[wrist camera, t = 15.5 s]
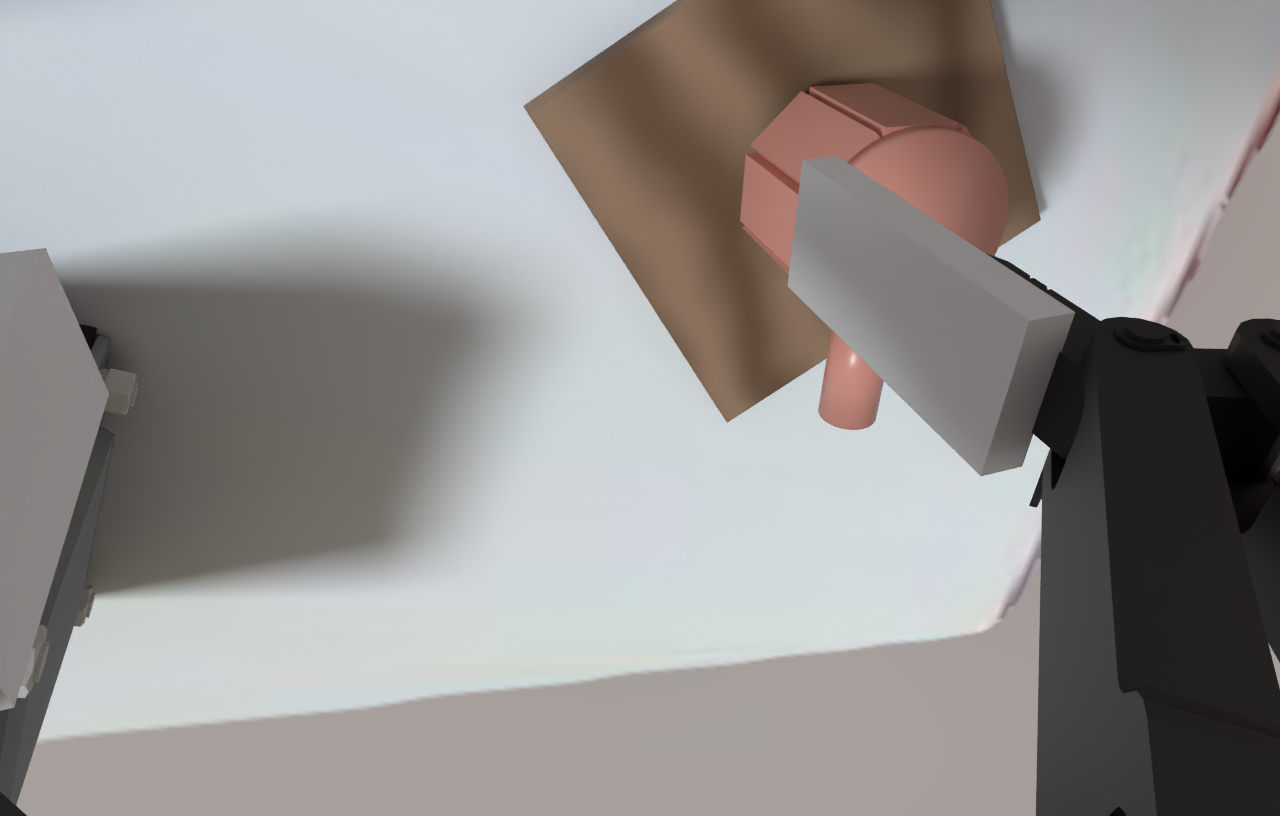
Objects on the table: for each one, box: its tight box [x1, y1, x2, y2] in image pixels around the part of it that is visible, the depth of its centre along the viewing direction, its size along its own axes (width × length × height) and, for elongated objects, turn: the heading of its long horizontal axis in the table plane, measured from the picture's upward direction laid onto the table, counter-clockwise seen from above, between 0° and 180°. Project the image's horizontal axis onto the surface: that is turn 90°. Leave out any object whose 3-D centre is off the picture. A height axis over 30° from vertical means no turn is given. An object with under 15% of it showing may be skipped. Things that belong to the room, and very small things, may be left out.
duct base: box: [524, 0, 1041, 422], centre depth 42 cm, size 22×22×10 cm
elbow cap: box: [740, 83, 1008, 430], centre depth 42 cm, size 16×9×8 cm, turn 179°
